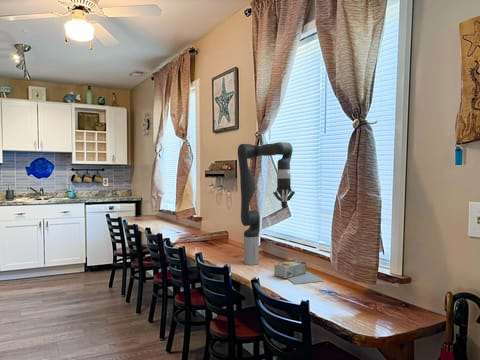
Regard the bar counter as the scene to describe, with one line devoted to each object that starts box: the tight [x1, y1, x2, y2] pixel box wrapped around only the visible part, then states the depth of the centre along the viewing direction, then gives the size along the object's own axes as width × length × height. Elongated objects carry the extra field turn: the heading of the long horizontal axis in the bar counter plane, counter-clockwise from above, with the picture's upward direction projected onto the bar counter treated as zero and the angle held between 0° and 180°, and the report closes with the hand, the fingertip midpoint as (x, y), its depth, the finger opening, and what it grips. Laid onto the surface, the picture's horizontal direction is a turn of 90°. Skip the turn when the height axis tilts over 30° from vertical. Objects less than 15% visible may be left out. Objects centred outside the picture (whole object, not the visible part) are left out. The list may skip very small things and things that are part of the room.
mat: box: [286, 271, 324, 285], centre depth 197 cm, size 18×16×1 cm
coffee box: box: [273, 259, 307, 279], centre depth 202 cm, size 9×6×16 cm
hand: (284, 208), depth 206 cm, fingers closed
